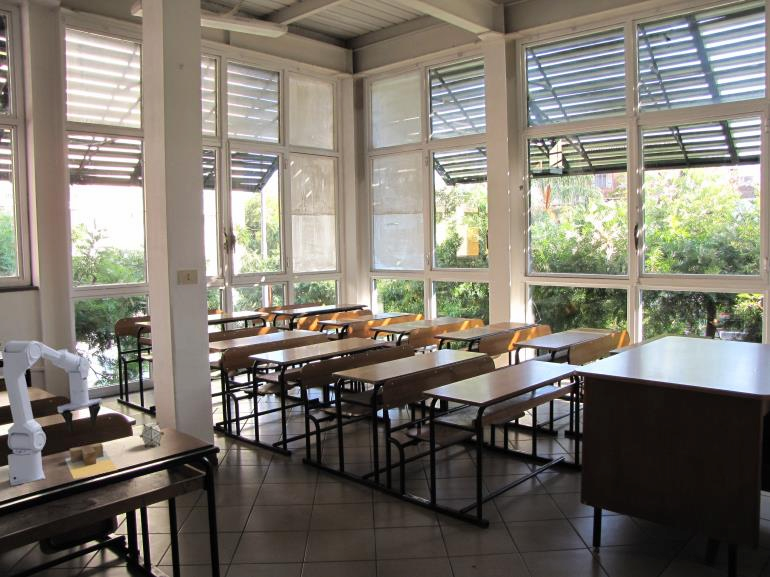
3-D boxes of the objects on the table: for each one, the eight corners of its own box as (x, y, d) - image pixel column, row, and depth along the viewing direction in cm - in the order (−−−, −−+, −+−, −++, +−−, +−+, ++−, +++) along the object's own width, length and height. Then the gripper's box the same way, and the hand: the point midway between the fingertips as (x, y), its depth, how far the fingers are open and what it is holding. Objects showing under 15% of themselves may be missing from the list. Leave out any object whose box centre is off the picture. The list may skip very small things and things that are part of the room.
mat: (73, 479, 206) (73, 478, 206) (64, 459, 226) (64, 458, 226) (117, 470, 213) (117, 469, 213) (105, 451, 233) (105, 450, 233)
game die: (155, 456, 237) (153, 439, 230) (135, 448, 238) (132, 431, 232) (169, 438, 244) (168, 421, 237) (149, 430, 245) (148, 413, 239)
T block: (74, 468, 216) (73, 456, 216) (70, 460, 225) (69, 448, 224) (106, 461, 221) (105, 450, 221) (101, 453, 230) (101, 442, 230)
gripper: (61, 396, 223) (64, 435, 224) (104, 388, 233) (107, 425, 234) (54, 393, 228) (57, 431, 229) (96, 385, 238) (99, 422, 239)
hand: (82, 428), depth 232 cm, fingers open, 7 cm apart
